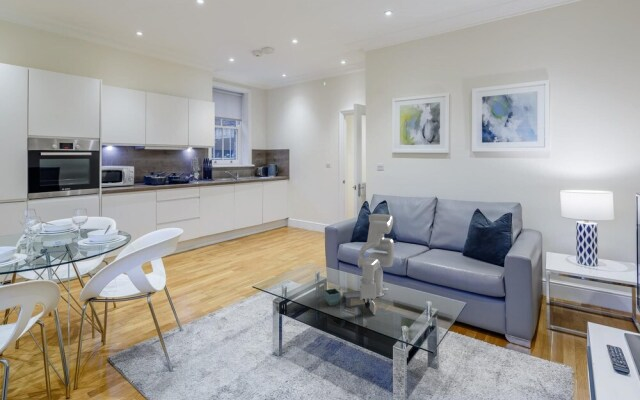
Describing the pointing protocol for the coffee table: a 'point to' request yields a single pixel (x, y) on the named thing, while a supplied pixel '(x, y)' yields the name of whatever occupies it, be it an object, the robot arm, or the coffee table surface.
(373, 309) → the side door
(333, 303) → the flower pot
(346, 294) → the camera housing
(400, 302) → the coffee table surface
